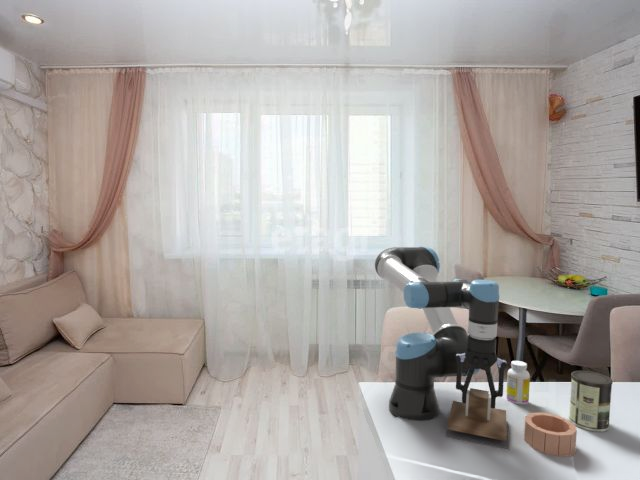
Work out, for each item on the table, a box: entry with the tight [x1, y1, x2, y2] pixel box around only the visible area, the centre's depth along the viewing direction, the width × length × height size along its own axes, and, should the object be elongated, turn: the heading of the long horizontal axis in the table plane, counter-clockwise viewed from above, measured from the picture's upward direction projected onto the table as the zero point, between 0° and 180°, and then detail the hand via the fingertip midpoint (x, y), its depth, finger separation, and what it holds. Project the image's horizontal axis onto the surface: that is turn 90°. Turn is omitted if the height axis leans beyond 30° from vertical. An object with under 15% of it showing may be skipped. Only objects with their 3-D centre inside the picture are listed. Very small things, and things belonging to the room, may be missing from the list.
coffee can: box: [568, 370, 614, 433], centre depth 130 cm, size 10×10×14 cm
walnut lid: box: [446, 387, 507, 441], centre depth 125 cm, size 15×15×8 cm
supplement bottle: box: [506, 360, 531, 405], centre depth 144 cm, size 7×7×13 cm
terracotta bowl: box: [523, 412, 578, 457], centre depth 118 cm, size 12×12×6 cm
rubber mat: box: [444, 420, 510, 451], centre depth 125 cm, size 16×16×1 cm
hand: (477, 415), depth 125 cm, fingers closed on walnut lid, 5 cm apart
